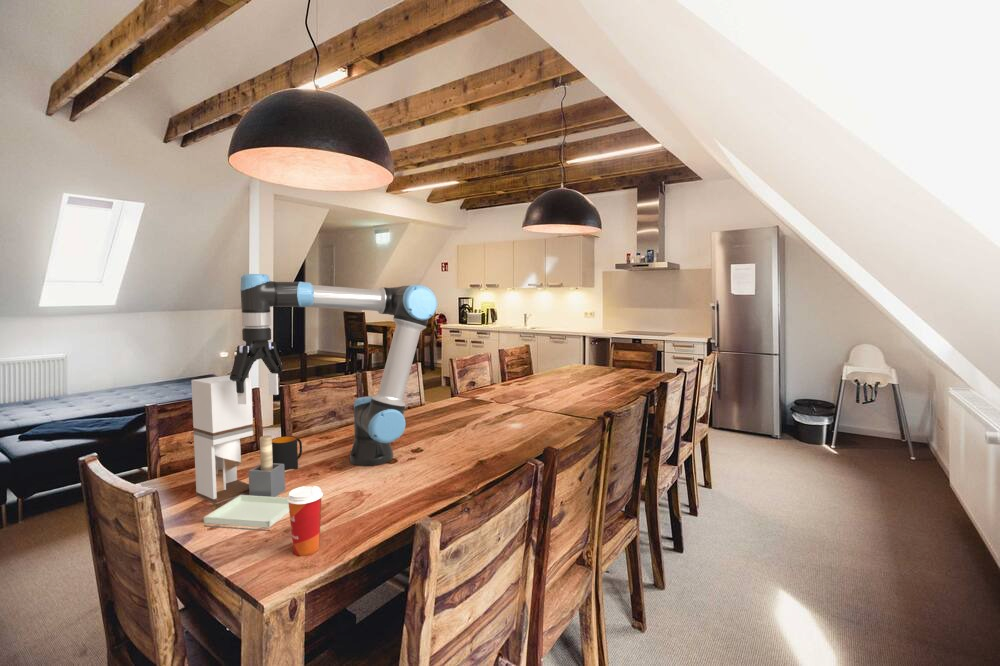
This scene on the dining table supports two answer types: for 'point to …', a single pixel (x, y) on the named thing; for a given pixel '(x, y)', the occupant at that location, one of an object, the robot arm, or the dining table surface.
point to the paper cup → (305, 519)
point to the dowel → (266, 453)
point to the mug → (286, 451)
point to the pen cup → (267, 481)
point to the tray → (249, 512)
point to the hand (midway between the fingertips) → (259, 399)
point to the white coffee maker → (219, 436)
